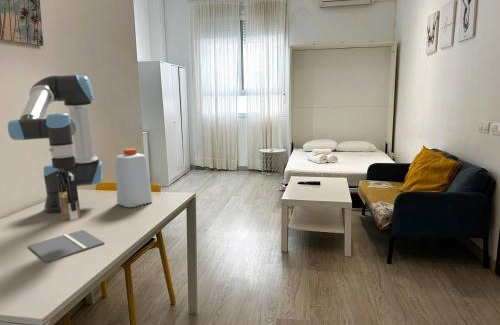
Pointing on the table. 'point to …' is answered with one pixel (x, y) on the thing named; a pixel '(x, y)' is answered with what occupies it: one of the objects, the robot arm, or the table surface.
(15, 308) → the table surface
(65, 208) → the block
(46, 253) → the mat
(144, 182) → the plastic bottle
